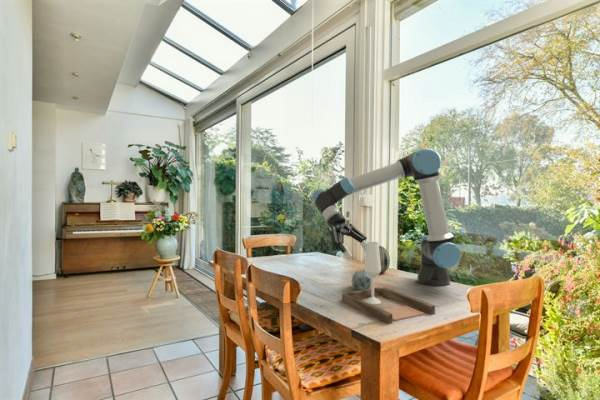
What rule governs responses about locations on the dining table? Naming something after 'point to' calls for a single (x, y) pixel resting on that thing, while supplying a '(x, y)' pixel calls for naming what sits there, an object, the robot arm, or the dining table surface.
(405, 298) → the bay
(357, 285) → the mottled grey rounded block
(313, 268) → the dining table surface
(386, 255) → the decorative egg
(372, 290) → the champagne flute
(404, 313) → the front tile
